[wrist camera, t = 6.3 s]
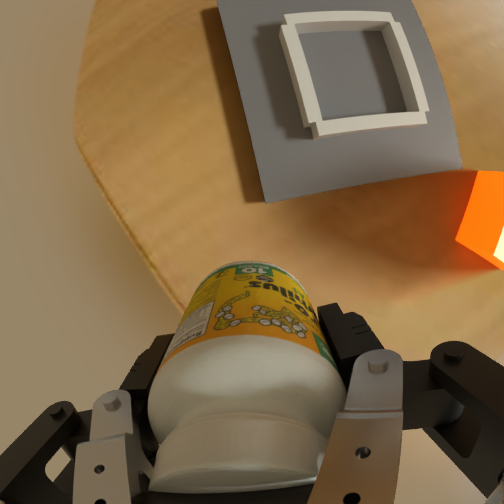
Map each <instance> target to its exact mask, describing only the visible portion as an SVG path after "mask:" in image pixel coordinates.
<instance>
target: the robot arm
mask: <svg viewBox="0 0 504 504" xmlns="http://www.w3.org/2000/svg"><path fill="white" fill-rule="evenodd" d="M317 312H318V319H319V324H320V326H321V329H322V331H323V333H324V336H325V339H326V341H327V343H328V346H329V348H330V350H331V353H332V356H333V358H334V360H335V363H336V365H337V368H338V370H339V373H340V375H341V377H342V380H343V383H344V385H345V388H346V392H347V398H346V402H345V407H344V410H339V411H338V413H337V415H336V419H335V422H334V426H333V429H332V432H331V436H330V439H329V442H328V446H327V449H326V452H325V455H324V458H323V461H322V464H321V467H320V470H319V473H318V475H317V478H316V481H315V483H312V484H306V485H300V486H294V487H286V488H278V489H269V490H258V491H246V492H227V493H170V492H157V491H151V490H150V491H148V489H149V484H150V480H151V476H152V473H153V469H154V465H155V462H156V454H157V451H158V449H159V447H160V445H159V442H158V441H157V439H156V437H155V435H154V433H153V431H152V428H151V425H150V422H149V417H148V398H149V393H150V389H151V386H152V383H153V381H154V378H155V376H156V374H157V371H158V369H159V367H160V365H161V362H162V360H163V358H164V356H165V354H166V352H167V349H168V347H169V345H170V343H171V341H172V339H173V337H174V334H167V335H160V336H157V337H156V338H155V339H154V341H153V343H152V345H151V346H150V348H149V349H147V350H145V351H144V352H143V353H142V354H141V355H140V356H138V358H137V360H136V361H135V363H134V366H132V368H131V369H130V372H129V373H128V375H127V376H126V378H125V380H124V381H123V383H122V385H121V386H120V388H119V390H112V391H109V392H107V393H105V394H103V395H101V396H100V397H99V398H98V399H97V400H96V401H95V402H94V404H93V409H92V410H87V411H82V412H77V411H76V409H75V407H74V406H73V404H72V403H71V402H68V401H61V402H57V403H55V404H53V405H51V406H49V407H48V408H47V409H46V410H45V411H44V412H43V413H42V414H41V415H40V416H39V417H38V418H37V419H36V420H35V421H34V422H33V423H32V424H31V425H30V426H29V427H28V428H27V429H26V430H25V431H24V432H23V433H22V434H21V435H20V436H19V437H18V438H17V439H16V440H15V441H14V442H13V443H12V444H11V445H10V446H9V447H8V448H7V449H6V450H5V451H4V452H3V453H2V454H1V455H0V504H394V499H395V492H396V486H397V479H398V471H399V462H400V453H401V442H402V430H409V429H419V428H422V429H423V430H424V431H425V432H426V433H427V434H428V435H429V437H430V438H431V439H432V440H433V441H434V442H435V443H436V444H437V445H438V446H439V447H440V448H441V450H442V451H443V452H444V453H445V454H446V455H447V456H448V457H449V458H450V459H451V460H452V461H453V462H454V463H455V465H456V466H457V467H458V468H459V469H460V470H461V471H462V472H463V473H464V474H465V475H466V476H467V477H468V479H469V480H470V481H471V482H472V483H473V484H474V485H475V486H476V487H477V488H478V489H479V490H480V491H481V493H482V494H484V496H485V497H486V498H487V500H486V502H485V504H504V367H503V366H502V365H500V364H499V363H497V362H496V361H494V360H492V359H491V358H489V357H488V356H486V355H485V354H483V353H481V352H480V351H478V350H477V349H475V348H474V347H472V346H470V345H469V344H467V343H464V342H460V341H448V342H444V343H441V344H439V345H437V346H436V347H435V348H434V349H433V350H432V352H431V355H430V359H429V360H420V361H403V360H402V358H401V356H400V355H399V354H398V353H396V352H394V351H391V350H387V349H384V347H383V346H382V344H381V343H380V341H379V340H378V338H377V337H376V335H375V334H374V332H373V331H372V330H371V328H370V327H369V325H367V322H366V321H365V319H364V318H363V317H362V316H360V315H358V314H356V313H354V312H349V313H345V314H343V312H342V311H341V309H340V307H339V306H338V304H337V303H332V304H328V305H324V306H319V307H317ZM60 447H62V449H63V450H64V451H65V452H66V454H67V455H68V456H69V457H70V458H71V460H70V462H69V463H68V464H67V466H66V467H65V468H64V469H63V470H62V472H61V473H60V474H59V476H58V477H57V478H56V479H55V480H54V482H52V481H51V480H50V479H49V478H48V477H47V475H46V473H45V466H46V464H47V463H48V461H49V460H50V459H51V458H52V456H54V454H55V453H56V452H57V451H58V450H59V448H60Z"/></svg>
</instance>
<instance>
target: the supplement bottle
mask: <svg viewBox="0 0 504 504" xmlns="http://www.w3.org/2000/svg"><path fill="white" fill-rule="evenodd" d="M346 398H347V392H346V388H345V385H344V383H343V380H342V377H341V375H340V373H339V370H338V368H337V365H336V363H335V360H334V358H333V356H332V353H331V350H330V348H329V346H328V343H327V341H326V339H325V336H324V333H323V331H322V329H321V326H320V324H319V321H318V319H317V317H316V314H315V312H314V309H313V307H312V304H311V302H310V300H309V297H308V295H307V293H306V291H305V289H304V288H303V286H302V285H301V284H300V282H299V281H298V280H297V279H296V278H295V277H294V276H293V275H291V274H290V273H289V272H287V271H286V270H284V269H283V268H281V267H279V266H276V265H274V264H271V263H266V262H258V261H238V262H233V263H228V264H226V265H223V266H221V267H219V268H218V269H216V270H214V271H213V272H211V273H210V274H209V275H208V276H207V277H206V278H205V279H204V280H203V281H202V282H201V283H200V285H199V286H198V288H197V289H196V291H195V293H194V295H193V297H192V299H191V301H190V303H189V305H188V307H187V309H186V311H185V313H184V315H183V317H182V319H181V322H180V324H179V326H178V328H177V330H176V332H175V334H174V337H173V339H172V341H171V343H170V345H169V347H168V349H167V352H166V354H165V356H164V358H163V360H162V362H161V365H160V367H159V369H158V371H157V374H156V376H155V378H154V381H153V383H152V386H151V389H150V393H149V398H148V417H149V422H150V425H151V428H152V431H153V433H154V435H155V437H156V439H157V441H158V442H159V444H160V447H159V449H158V451H157V454H156V462H155V465H154V469H153V473H152V476H151V480H150V484H149V489H148V491H150V490H151V491H157V492H170V493H227V492H246V491H258V490H269V489H278V488H286V487H294V486H300V485H306V484H312V483H315V481H316V478H317V475H318V473H319V470H320V467H321V464H322V461H323V458H324V455H325V452H326V449H327V446H328V442H329V439H330V436H331V432H332V429H333V426H334V422H335V419H336V415H337V413H338V411H339V410H344V407H345V402H346Z"/></svg>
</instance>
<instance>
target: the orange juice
mask: <svg viewBox="0 0 504 504" xmlns="http://www.w3.org/2000/svg"><path fill="white" fill-rule="evenodd" d="M455 240H456V241H458V242H459V243H461V244H463V245H464V246H466V247H467V248H469V249H471V250H472V251H474V252H475V253H477V254H478V255H480V256H482V257H483V258H485V259H486V260H488V261H489V262H491V263H492V264H494V265H495V266H497V267H498V268H500V269H501V270H503V271H504V172H494V171H478V173H477V177H476V180H475V184H474V187H473V190H472V193H471V197H470V200H469V203H468V206H467V209H466V212H465V215H464V217H463V220H462V223H461V226H460V228H459V231H458V234H457V236H456V239H455Z"/></svg>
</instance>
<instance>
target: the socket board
mask: <svg viewBox="0 0 504 504" xmlns="http://www.w3.org/2000/svg"><path fill="white" fill-rule="evenodd" d="M217 5H218V9H219V13H220V17H221V21H222V25H223V28H224V32H225V36H226V40H227V44H228V48H229V52H230V56H231V59H232V63H233V67H234V71H235V75H236V79H237V83H238V88H239V92H240V96H241V100H242V104H243V108H244V112H245V116H246V121H247V125H248V129H249V133H250V138H251V142H252V146H253V150H254V155H255V159H256V163H257V168H258V172H259V177H260V181H261V186H262V190H263V195H264V199H265V203H266V204H267V203H271V202H276V201H281V200H286V199H290V198H295V197H300V196H305V195H310V194H315V193H320V192H325V191H331V190H336V189H341V188H347V187H352V186H357V185H363V184H369V183H374V182H380V181H386V180H392V179H398V178H404V177H410V176H417V175H423V174H430V173H437V172H444V171H451V170H458V169H463V168H462V161H461V155H460V149H459V144H458V139H457V134H456V129H455V125H454V120H453V116H452V112H451V108H450V104H449V100H448V97H447V93H446V90H445V86H444V83H443V79H442V76H441V73H440V70H439V67H438V64H437V61H436V58H435V56H434V53H433V50H432V47H431V45H430V42H429V40H428V37H427V35H426V32H425V30H424V27H423V25H422V23H421V20H420V18H419V16H418V14H417V11H416V9H415V7H414V5H413V3H412V1H411V0H217Z"/></svg>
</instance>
